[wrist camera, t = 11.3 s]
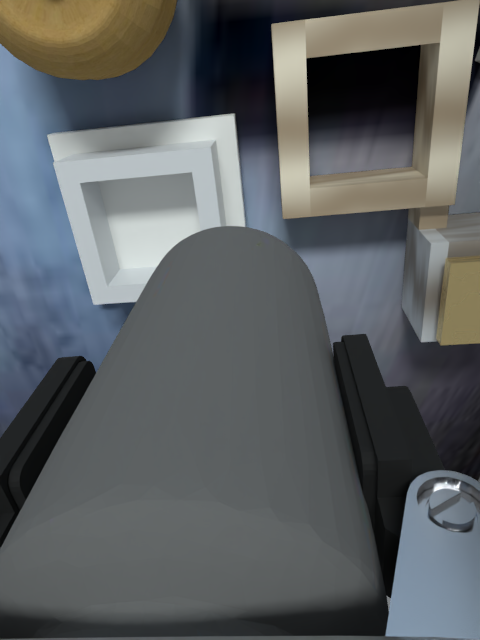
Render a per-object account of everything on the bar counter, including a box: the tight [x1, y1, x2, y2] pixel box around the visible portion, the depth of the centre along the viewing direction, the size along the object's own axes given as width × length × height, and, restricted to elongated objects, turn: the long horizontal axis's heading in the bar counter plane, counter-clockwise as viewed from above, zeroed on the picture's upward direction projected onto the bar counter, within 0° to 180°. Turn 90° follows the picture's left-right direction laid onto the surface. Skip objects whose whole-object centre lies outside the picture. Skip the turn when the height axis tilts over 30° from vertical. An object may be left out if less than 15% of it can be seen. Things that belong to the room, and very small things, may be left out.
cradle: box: [47, 114, 246, 305], centre depth 36 cm, size 14×14×5 cm
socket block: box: [271, 0, 480, 342], centre depth 33 cm, size 22×18×6 cm
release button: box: [436, 256, 480, 345], centre depth 34 cm, size 6×6×6 cm
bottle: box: [0, 226, 389, 639], centre depth 9 cm, size 6×6×15 cm
